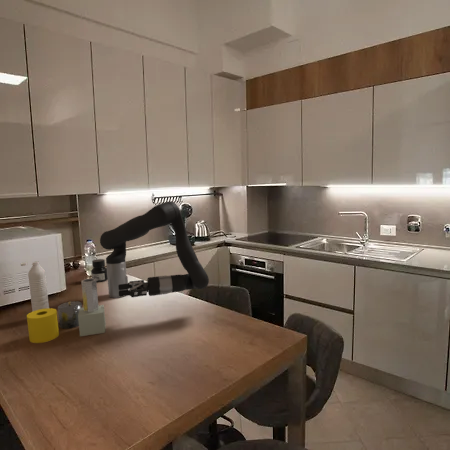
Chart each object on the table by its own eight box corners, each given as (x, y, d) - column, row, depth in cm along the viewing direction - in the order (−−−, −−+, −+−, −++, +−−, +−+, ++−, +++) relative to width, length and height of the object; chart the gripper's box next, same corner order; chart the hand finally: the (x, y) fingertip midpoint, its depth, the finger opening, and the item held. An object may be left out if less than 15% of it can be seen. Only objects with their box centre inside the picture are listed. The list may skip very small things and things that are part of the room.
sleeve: (98, 307, 142) (96, 277, 140) (98, 311, 137) (95, 281, 135) (84, 308, 140) (82, 279, 139) (83, 313, 135) (81, 282, 134)
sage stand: (105, 323, 145) (103, 301, 144) (105, 332, 137) (103, 308, 136) (81, 327, 143) (79, 304, 141) (79, 336, 134) (77, 312, 133)
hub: (82, 318, 152) (80, 296, 151) (84, 325, 144) (82, 302, 143) (59, 322, 148) (56, 300, 147) (60, 330, 140) (57, 307, 139)
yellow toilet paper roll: (64, 332, 138) (62, 309, 137) (45, 344, 129) (42, 319, 128) (43, 330, 141) (41, 307, 140) (23, 341, 132) (20, 317, 130)
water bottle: (50, 314, 158) (44, 259, 155) (50, 319, 152) (44, 262, 149) (27, 318, 154) (21, 261, 151) (26, 323, 148) (20, 265, 145)
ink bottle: (88, 282, 206) (86, 262, 204) (97, 278, 215) (95, 258, 213) (103, 282, 204) (101, 262, 202) (111, 278, 212) (110, 258, 211)
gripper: (157, 272, 152) (117, 276, 147) (161, 281, 138) (118, 286, 134) (158, 289, 153) (118, 294, 148) (162, 299, 139) (119, 305, 135)
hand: (118, 290), depth 141 cm, fingers open, 8 cm apart
